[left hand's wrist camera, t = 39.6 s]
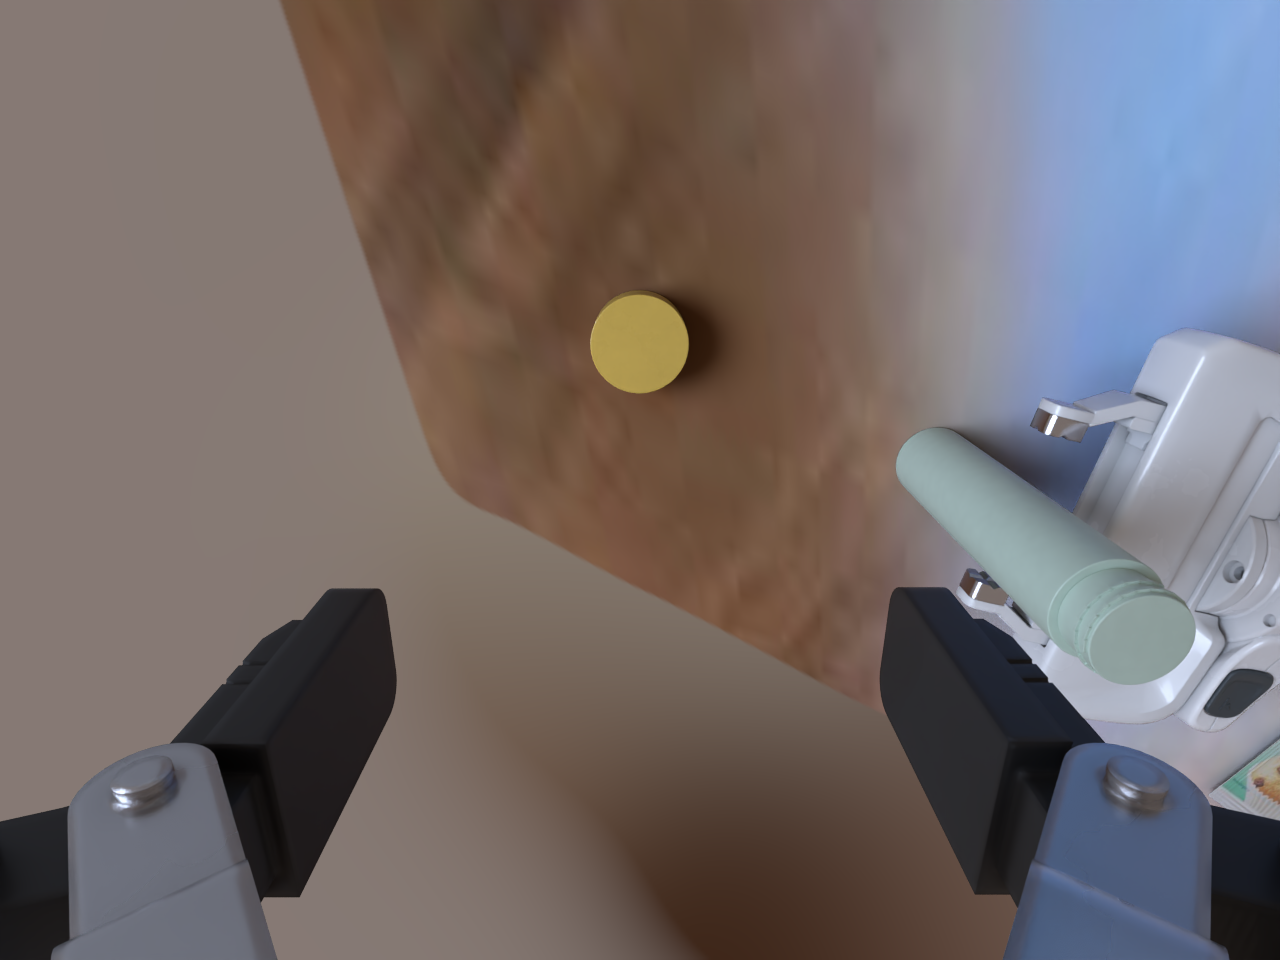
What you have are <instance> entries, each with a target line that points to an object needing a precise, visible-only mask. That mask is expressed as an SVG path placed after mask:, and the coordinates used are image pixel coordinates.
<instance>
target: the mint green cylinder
mask: <svg viewBox="0 0 1280 960" xmlns="http://www.w3.org/2000/svg"><path fill="white" fill-rule="evenodd" d="M896 472H897V476H898V478H899V481H900V482H901V484H902V485H903V486H904V487H905V488H906V489H907V490H908V491H909V492H910V494H911V495H912V496H913V497H914V498H915V499H916V500H917V501H918V502H919V503H920V504H921V505H922V506H923V507H924V508H925V509H926V510H927V511H928V512H929V513H930V514H931V515H932V516H933V517H934V519H935V520H936V521H937V522H938V523H939V524H940V525H941V526H942V527H943V528H944V529H945V530H946V531H947V532H948V533H949V534H950V535H951V536H952V537H953V538H954V539H955V540H956V541H957V542H958V543H959V545H960V546H961V547H962V548H963V549H964V550H965V551H966V552H967V553H968V554H969V555H970V556H971V557H972V558H973V559H974V560H975V561H976V562H977V563H978V564H979V565H980V566H981V567H982V568H983V569H984V571H985V572H986V573H987V574H988V575H989V576H990V577H991V578H992V579H993V580H994V581H995V582H996V583H997V584H998V585H999V586H1000V587H1001V588H1002V589H1003V590H1004V591H1005V592H1006V593H1007V594H1008V595H1009V597H1010V598H1011V599H1012V600H1013V601H1014V602H1015V603H1016V604H1017V605H1018V606H1019V607H1020V608H1021V609H1022V610H1023V611H1024V612H1025V613H1026V614H1027V615H1028V616H1029V617H1030V618H1031V619H1032V620H1033V621H1034V623H1035V624H1036V625H1037V626H1038V627H1039V628H1040V629H1041V630H1042V631H1043V632H1044V633H1045V634H1046V635H1047V636H1048V637H1049V638H1050V639H1051V640H1052V641H1053V642H1054V643H1055V644H1056V645H1057V646H1058V647H1059V648H1060V649H1061V650H1062V651H1064V652H1066V653H1067V654H1069V655H1072V656H1074V657H1078V658H1079V659H1080V661H1081V662H1082V663H1083V664H1084V665H1085V666H1086V667H1087V668H1089V669H1090V670H1092V671H1093V672H1094V673H1096V674H1099V675H1100V676H1101V677H1103V678H1104V679H1106V680H1108V681H1110V682H1114V683H1117V684H1123V685H1137V684H1143V683H1147V682H1151V681H1153V680H1156V679H1158V678H1160V677H1162V676H1164V675H1166V674H1168V673H1169V672H1171V671H1172V670H1173V669H1175V668H1176V667H1177V666H1178V665H1179V664H1180V663H1181V662H1182V661H1183V660H1184V659H1185V657H1186V656H1187V655H1188V653H1189V651H1190V650H1191V648H1192V645H1193V643H1194V639H1195V634H1196V626H1195V621H1194V618H1193V616H1192V613H1191V611H1190V609H1189V608H1188V606H1187V605H1186V603H1185V601H1184V600H1183V599H1181V598H1180V597H1179V596H1178V595H1176V594H1175V593H1174V592H1171V591H1169V590H1166V589H1164V587H1165V586H1164V585H1163V583H1162V581H1161V579H1160V578H1159V576H1158V575H1157V574H1156V573H1155V572H1154V571H1153V570H1152V569H1151V568H1150V567H1148V566H1147V565H1145V564H1144V563H1143V562H1141V561H1140V560H1138V559H1137V558H1135V557H1134V556H1133V555H1131V554H1130V553H1128V552H1127V551H1125V550H1124V549H1122V548H1121V547H1120V546H1118V545H1117V544H1115V543H1114V542H1112V541H1111V540H1110V539H1108V538H1107V537H1105V536H1104V535H1102V534H1101V533H1100V532H1098V531H1097V530H1095V529H1094V528H1092V527H1091V526H1089V525H1088V524H1087V523H1085V522H1084V521H1082V520H1081V519H1079V518H1078V517H1077V516H1075V515H1074V514H1072V513H1071V512H1069V511H1068V510H1067V509H1065V508H1064V507H1062V506H1061V505H1059V504H1058V503H1057V502H1055V501H1054V500H1052V499H1051V498H1049V497H1048V496H1046V495H1045V494H1044V493H1042V492H1041V491H1039V490H1038V489H1036V488H1035V487H1034V486H1032V485H1031V484H1029V483H1028V482H1026V481H1025V480H1024V479H1022V478H1021V477H1019V476H1018V475H1016V474H1015V473H1013V472H1012V471H1011V470H1009V469H1008V468H1006V467H1005V466H1003V465H1002V464H1001V463H999V462H998V461H996V460H995V459H993V458H992V457H991V456H989V455H988V454H986V453H985V452H983V451H982V450H981V449H979V448H978V447H976V446H975V445H973V444H972V443H970V442H969V441H968V440H966V439H965V438H963V437H962V436H960V435H959V434H958V433H956V432H954V431H952V430H950V429H947V428H938V427H937V428H929V429H926V430H923V431H920V432H918V433H917V434H915V435H913V436H912V437H911V438H910V439H909V440H908V441H907V442H906V443H905V444H904V445H903V447H902V448H901V450H900V452H899V454H898V457H897V462H896Z"/></svg>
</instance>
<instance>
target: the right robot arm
mask: <svg viewBox="0 0 1280 960" xmlns="http://www.w3.org/2000/svg"><path fill="white" fill-rule="evenodd" d="M1108 422H1116V423H1115V425H1114V427H1113V429H1112V431H1111V434H1110V436H1109V438H1108V440H1107V442H1106V444H1105V446H1104V448H1103V450H1102V452H1101V454H1100V456H1099V458H1098V460H1097V463H1096V465H1095V467H1094V469H1093V471H1092V473H1091V475H1090V477H1089V479H1088V481H1087V483H1086V485H1085V487H1084V489H1083V491H1082V493H1081V495H1080V498H1079V500H1078V502H1077V504H1076V506H1075V508H1074V510H1073V512H1072V514H1074V515H1075V516H1077V517H1078V518H1079V519H1081V520H1082V521H1084V522H1085V523H1087V524H1088V525H1089V526H1091V527H1092V528H1094V529H1095V530H1097V531H1098V532H1100V533H1101V534H1102V535H1104V536H1105V537H1107V538H1108V539H1110V540H1111V541H1112V542H1114V543H1115V544H1117V545H1118V546H1120V547H1121V548H1122V549H1124V550H1125V551H1127V552H1128V553H1130V554H1131V555H1133V556H1134V557H1135V558H1137V559H1138V560H1140V561H1141V562H1143V563H1144V564H1145V565H1147V566H1148V567H1150V568H1151V569H1152V570H1153V571H1154V572H1155V573H1156V574H1157V575H1158V576H1159V578H1160V579H1161V581H1162V583H1163V585H1164V586H1165V587H1164V589H1166V590H1169V591H1171V592H1174V593H1175V594H1176V595H1178V596H1179V597H1180V598H1181V599H1183V600H1184V601H1185V603H1186V605H1187V606H1188V608H1189V609H1190V611H1191V613H1192V616H1193V618H1194V621H1195V626H1196V634H1195V639H1194V643H1193V645H1192V648H1191V650H1190V651H1189V653H1188V655H1187V656H1186V657H1185V659H1184V660H1183V661H1182V662H1181V663H1180V664H1179V665H1178V666H1177V667H1176V668H1175V669H1173V670H1172V671H1171V672H1169V673H1168V674H1166V675H1164V676H1162V677H1160V678H1158V679H1156V680H1153V681H1151V682H1147V683H1143V684H1137V685H1123V684H1117V683H1114V682H1110V681H1108V680H1106V679H1104V678H1103V677H1101V676H1100V675H1099V674H1096V673H1094V672H1093V671H1092V670H1090V669H1089V668H1087V667H1086V666H1085V665H1084V664H1083V663H1082V662H1081V661H1080V659H1079V658H1078V657H1074V656H1072V655H1069V654H1067V653H1066V652H1064V651H1062V650H1061V649H1060V648H1059V647H1058V646H1057V645H1056V644H1055V643H1054V642H1053V641H1052V640H1051V639H1050V638H1049V637H1048V636H1047V635H1046V634H1045V633H1044V632H1043V631H1042V630H1041V629H1040V628H1039V627H1038V626H1037V625H1036V624H1035V623H1034V621H1033V620H1032V619H1031V618H1030V617H1029V616H1028V615H1027V614H1026V613H1025V612H1024V611H1023V610H1022V609H1021V608H1020V607H1019V606H1018V605H1017V604H1016V603H1015V602H1014V601H1013V603H1012V606H1013V607H1010V606H1009V605H1008V604H1007V603H1006V600H1007V598H1008V596H1009V595H1008V594H1007V593H1006V592H1005V591H1004V590H1003V589H1002V588H1001V587H1000V586H999V585H998V584H997V583H996V582H995V581H994V580H993V579H992V578H991V577H990V576H989V575H988V574H987V573H986V572H985V571H982V572H979V573H978V572H977V571H976V570H975V569H971V568H969V569H967V570H966V572H965V574H964V576H963V578H962V580H961V582H960V585H959V587H958V589H957V592H956V594H957V595H958V597H959V598H960V599H961V600H962V601H963V603H964V604H966V605H967V606H969V607H971V608H973V609H977V610H982V611H986V612H991V613H995V614H997V615H998V616H999V617H1000V618H1001V619H1002V620H1003V621H1004V622H1005V623H1006V624H1007V625H1008V626H1009V627H1010V628H1011V629H1012V630H1013V631H1014V634H1013V636H1012V637H1013V638H1014V639H1015V640H1016V642H1017V643H1018V644H1019V645H1020V646H1021V647H1022V648H1023V650H1024V651H1025V652H1026V653H1027V654H1028V655H1029V656H1030V658H1031V659H1032V663H1033V664H1037V666H1038V667H1039V668H1040V669H1041V670H1042V671H1043V672H1044V674H1045V675H1046V676H1047V677H1048V681H1049V683H1053V684H1054V685H1055V686H1056V687H1057V688H1058V690H1059V691H1060V692H1061V693H1062V694H1063V695H1064V696H1065V698H1066V699H1067V700H1068V701H1069V702H1070V703H1071V704H1072V706H1073V707H1074V708H1075V709H1076V710H1077V711H1078V712H1079V714H1080V715H1081V716H1082V717H1083V718H1084V719H1089V720H1096V721H1103V722H1112V723H1122V724H1146V723H1153V722H1157V721H1160V720H1163V719H1165V718H1167V717H1169V716H1171V715H1172V714H1173V715H1174V716H1176V717H1177V718H1178V719H1180V720H1181V721H1182V722H1184V723H1185V724H1187V725H1188V726H1190V727H1191V728H1193V729H1195V730H1198V731H1203V732H1210V733H1211V732H1218V731H1221V730H1223V729H1225V728H1227V727H1228V726H1230V725H1231V724H1232V723H1233V722H1234V721H1235V720H1237V719H1238V718H1239V717H1240V716H1241V715H1242V714H1243V713H1244V712H1245V711H1246V710H1248V709H1249V708H1250V707H1251V706H1252V705H1253V704H1255V703H1256V702H1257V701H1258V700H1259V699H1260V698H1262V697H1263V696H1264V695H1265V694H1267V693H1268V692H1269V691H1270V690H1272V689H1273V688H1274V687H1276V686H1277V685H1278V684H1280V354H1279V353H1277V352H1274V351H1272V350H1269V349H1267V348H1264V347H1261V346H1258V345H1255V344H1252V343H1249V342H1246V341H1243V340H1239V339H1236V338H1232V337H1228V336H1224V335H1220V334H1216V333H1212V332H1207V331H1203V330H1198V329H1192V328H1182V329H1179V330H1177V331H1174V332H1172V333H1169V334H1167V335H1165V336H1162V337H1160V338H1159V339H1158V340H1157V341H1156V342H1155V343H1154V345H1153V347H1152V349H1151V351H1150V353H1149V355H1148V357H1147V359H1146V361H1145V363H1144V365H1143V367H1142V370H1141V372H1140V374H1139V376H1138V378H1137V380H1136V382H1135V384H1134V386H1133V388H1132V390H1131V392H1130V394H1129V393H1125V392H1121V391H1116V390H1111V391H1108V392H1104V393H1101V394H1098V395H1095V396H1091V397H1088V398H1085V399H1082V400H1078V401H1075V402H1074V403H1073V404H1071V403H1066V402H1062V401H1058V400H1054V399H1050V398H1044V397H1043V398H1042V400H1041V402H1040V404H1039V406H1038V409H1037V411H1036V413H1035V416H1034V418H1033V420H1032V423H1031V425H1030V426H1031V427H1033V428H1036V429H1038V431H1040V432H1042V433H1044V434H1047V435H1050V436H1054V437H1058V438H1059V437H1063V438H1065V439H1067V440H1071V441H1075V442H1079V443H1080V442H1081V440H1082V438H1083V436H1084V435H1085V433H1086V431H1087V429H1088V427H1092V426H1096V425H1100V424H1104V423H1108Z"/></svg>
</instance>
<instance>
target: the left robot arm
mask: <svg viewBox="0 0 1280 960" xmlns="http://www.w3.org/2000/svg"><path fill="white" fill-rule="evenodd" d="M396 682H397V679H396V668H395V660H394V653H393V646H392V639H391V632H390V625H389V618H388V611H387V604H386V599H385V596H384V594H383V592H382V591H381V590H380V589H329V590H328V591H326V593H325V594H324V595H323V596H322V597H321V598H320V600H319V601H318V602H317V603H316V604H315V606H314V607H313V608H312V609H311V611H310V612H309V613H308V614H307V615H306V617H305V618H304V619H303V620H292V621H290V622H289V623H287V624H286V625H284V626H282V627H281V628H279V629H278V630H276V631H274V632H273V633H271V634H270V635H268V636H266V637H265V638H263V639H262V640H261V641H260V642H259V643H258V644H257V646H256V647H255V648H254V649H253V650H252V651H251V652H250V654H249V655H248V656H247V657H246V658H245V659H244V660H243V665H240V666H238V667H237V668H236V669H235V671H234V672H233V673H232V674H231V675H230V676H229V677H228V678H227V682H226V684H222V685H221V686H220V687H219V689H218V690H217V691H216V692H215V693H214V694H213V695H212V697H211V698H210V699H209V700H208V701H207V702H206V703H205V705H204V706H203V707H202V708H201V709H200V710H199V711H198V712H197V714H196V715H195V716H194V717H193V718H192V719H191V720H190V722H189V723H188V724H187V725H186V726H185V727H184V728H183V729H182V730H181V732H180V733H179V734H178V735H177V736H176V737H175V738H174V740H173V741H172V742H171V743H170V744H165V745H160V746H156V747H152V748H148V749H145V750H142V751H139V752H137V753H134V754H132V755H129V756H127V757H125V758H123V759H121V760H119V761H117V762H115V763H113V764H112V765H110V766H108V767H107V768H105V769H104V770H102V771H101V772H99V773H98V774H96V775H95V776H94V777H93V778H92V779H90V780H89V781H88V782H87V783H86V784H85V785H84V786H83V787H82V788H81V789H80V790H79V791H78V793H77V794H76V795H75V797H74V798H73V800H72V802H71V804H70V806H67V807H64V808H59V809H55V810H51V811H46V812H41V813H37V814H33V815H28V816H23V817H19V818H14V819H10V820H6V821H1V822H0V960H277V957H276V953H275V950H274V947H273V943H272V940H271V936H270V933H269V930H268V926H267V923H266V919H265V916H264V913H263V909H262V906H261V901H262V900H263V898H264V897H300V895H301V893H302V891H303V889H304V887H305V885H306V883H307V881H308V879H309V877H310V875H311V873H312V871H313V869H314V867H315V865H316V863H317V861H318V859H319V857H320V855H321V853H322V851H323V849H324V847H325V845H326V843H327V841H328V839H329V837H330V835H331V833H332V831H333V829H334V827H335V825H336V823H337V821H338V819H339V817H340V815H341V813H342V811H343V809H344V807H345V805H346V803H347V801H348V799H349V797H350V794H351V793H352V790H353V789H354V787H355V785H356V783H357V780H358V779H359V776H360V774H361V772H362V770H363V768H364V766H365V764H366V762H367V760H368V758H369V756H370V754H371V752H372V750H373V748H374V746H375V744H376V742H377V740H378V738H379V736H380V734H381V732H382V730H383V728H384V726H385V724H386V722H387V720H388V718H389V716H390V714H391V711H392V708H393V705H394V700H395V694H396ZM880 691H881V697H882V702H883V706H884V709H885V712H886V714H887V716H888V718H889V720H890V722H891V724H892V726H893V728H894V730H895V732H896V735H897V737H898V739H899V741H900V743H901V745H902V747H903V749H904V751H905V753H906V755H907V757H908V759H909V761H910V763H911V765H912V767H913V769H914V771H915V773H916V775H917V777H918V779H919V781H920V783H921V785H922V788H923V790H924V791H925V794H926V796H927V798H928V800H929V802H930V804H931V806H932V808H933V810H934V812H935V814H936V816H937V818H938V820H939V822H940V824H941V826H942V828H943V830H944V832H945V834H946V836H947V838H948V841H949V843H950V845H951V847H952V849H953V851H954V853H955V855H956V857H957V859H958V861H959V863H960V865H961V867H962V869H963V871H964V873H965V875H966V877H967V879H968V881H969V883H970V885H971V887H972V889H973V891H974V893H975V894H1010V895H1011V897H1012V899H1013V900H1014V902H1015V904H1016V906H1017V908H1018V910H1017V913H1016V916H1015V919H1014V923H1013V926H1012V930H1011V933H1010V936H1009V940H1008V943H1007V947H1006V950H1005V953H1004V957H1003V960H1280V820H1275V819H1271V818H1266V817H1262V816H1257V815H1253V814H1248V813H1244V812H1239V811H1235V810H1230V809H1226V808H1221V807H1217V806H1212V805H1210V804H1209V802H1208V800H1207V798H1206V797H1205V795H1204V794H1203V792H1202V791H1201V790H1200V789H1199V788H1198V787H1197V786H1196V785H1195V784H1194V783H1193V782H1192V781H1191V780H1190V779H1188V778H1187V777H1186V776H1185V775H1184V774H1182V773H1181V772H1179V771H1178V770H1176V769H1175V768H1173V767H1172V766H1170V765H1168V764H1167V763H1165V762H1163V761H1161V760H1159V759H1157V758H1155V757H1153V756H1151V755H1148V754H1146V753H1143V752H1141V751H1138V750H1135V749H1132V748H1128V747H1124V746H1120V745H1115V744H1108V743H1105V742H1104V741H1103V740H1102V739H1101V737H1100V736H1099V735H1098V734H1097V733H1096V732H1095V731H1094V729H1093V728H1092V727H1091V726H1090V725H1089V724H1088V723H1087V722H1086V720H1085V719H1084V718H1083V717H1082V716H1081V715H1080V714H1079V712H1078V711H1077V710H1076V709H1075V708H1074V707H1073V706H1072V704H1071V703H1070V702H1069V701H1068V700H1067V699H1066V698H1065V696H1064V695H1063V694H1062V693H1061V692H1060V691H1059V690H1058V688H1057V687H1056V686H1055V685H1054V684H1053V683H1049V681H1048V677H1047V676H1046V675H1045V674H1044V672H1043V671H1042V670H1041V669H1040V668H1039V667H1038V666H1037V664H1033V663H1032V659H1031V658H1030V656H1029V655H1028V654H1027V653H1026V652H1025V651H1024V650H1023V648H1022V647H1021V646H1020V645H1019V644H1018V643H1017V642H1016V640H1015V639H1014V638H1013V637H1011V636H1010V635H1008V634H1006V633H1005V632H1003V631H1002V630H1000V629H999V628H997V627H995V626H994V625H992V624H991V623H989V622H987V621H986V620H984V619H973V618H972V617H971V616H970V615H969V613H968V612H967V611H966V610H965V609H964V607H963V606H962V605H961V604H960V602H959V601H958V600H957V599H956V598H955V596H954V595H953V594H952V593H951V591H950V590H949V589H947V588H944V587H898V588H896V589H895V590H894V591H893V593H892V595H891V599H890V604H889V611H888V618H887V625H886V632H885V640H884V647H883V654H882V661H881V668H880Z"/></svg>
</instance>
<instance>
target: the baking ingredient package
mask: <svg viewBox="0 0 1280 960" xmlns="http://www.w3.org/2000/svg"><path fill="white" fill-rule="evenodd" d="M1209 796H1210V797H1211V798H1213V799H1214V800H1215V801H1217V802H1218V803H1219V804H1221V805H1222V806H1223V807H1225V808H1226V809H1230V810H1235V811H1239V812H1244V813H1248V814H1253V815H1257V816H1262V817H1266V818H1271V819H1275V820H1280V739H1279V740H1278V741H1276V742H1275V743H1274V744H1273V745H1271V746H1270V747H1269V748H1268V749H1266V750H1265V751H1264V752H1262V753H1261V754H1260V755H1259V756H1257V757H1256V758H1255V759H1254V760H1252V761H1251V762H1250V763H1249V764H1247V765H1246V766H1245V767H1244V768H1242V769H1241V770H1240V771H1238V772H1237V773H1236V774H1235V775H1233V776H1232V777H1231V778H1230V779H1228V780H1227V781H1226V782H1225V783H1223V784H1222V785H1220V786H1219V787H1218V788H1217V789H1215V790H1214V791H1213V792H1211V793H1210V794H1209Z"/></svg>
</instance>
